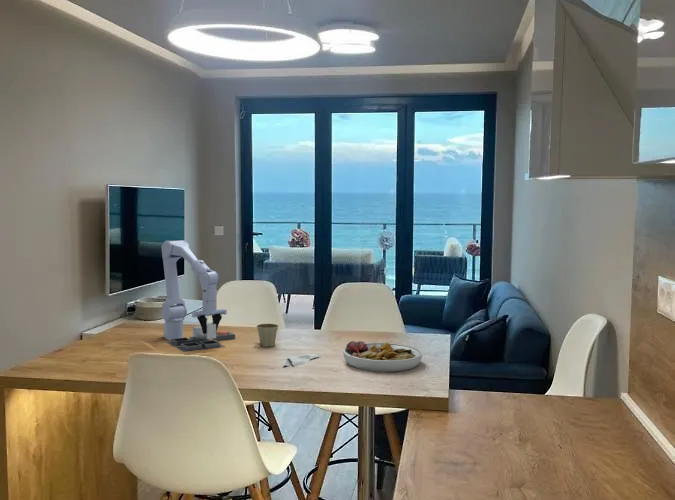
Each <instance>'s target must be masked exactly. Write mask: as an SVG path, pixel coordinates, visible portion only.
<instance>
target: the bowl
mask: <svg viewBox="0 0 675 500" xmlns="http://www.w3.org/2000/svg"><path fill="white" fill-rule="evenodd" d="M342 354H343V358H344V360H345V362H346V363H347V364H349V365H350V366H352V367H353V368H356V369H359V370H363V371H370V372H380V373H393V372H394V373H395V372H403V371H407V370H411V369H413V368H415V367H417V366H418V365H419V364H421V363H420V362H421V361H422V358H423V353H422V351H421V350H420V349H419V348H416V347H413V346H410V345H404V344H399V343H389V342H387V341H386V342H366V343H365V342H364V341H361V340H360V341H354V340H351V341H350V342H348V343H347V344H346V347H345V348H344V349H343V350H342Z"/></svg>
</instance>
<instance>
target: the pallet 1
mask: <svg viewBox="0 0 675 500" xmlns="http://www.w3.org/2000/svg"><path fill="white" fill-rule="evenodd" d="M209 340H211V339H205V338H204V339H194V338H193V336H189V337H186V336H185V337H183V338H176V339H171V340H170V341H165V343H166V344H168V345H170V346H172V347H174V348H176V347H180V346H181V344H184V343H192V342H197V343H199V342H201V341H209Z"/></svg>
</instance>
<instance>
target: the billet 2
mask: <svg viewBox="0 0 675 500" xmlns="http://www.w3.org/2000/svg"><path fill="white" fill-rule="evenodd" d="M216 333H217V332H216V324H215V323H213V321H212V322H207V323H206V334H203V338H205V339H210V340H214V339H213V338H216Z"/></svg>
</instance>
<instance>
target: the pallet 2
mask: <svg viewBox="0 0 675 500" xmlns="http://www.w3.org/2000/svg"><path fill="white" fill-rule="evenodd" d="M225 347H226V346H225V345H224V344H223V345H222V344H221V342H220V341H217V340H215V339H210V340H209V341H201V342H199V343H197V342H192V343H184V344H181V346H177V347H175V349H178V350H179V351H180V352H183V353H187V352H195V351H204V350H211V349H218V348H225Z"/></svg>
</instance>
